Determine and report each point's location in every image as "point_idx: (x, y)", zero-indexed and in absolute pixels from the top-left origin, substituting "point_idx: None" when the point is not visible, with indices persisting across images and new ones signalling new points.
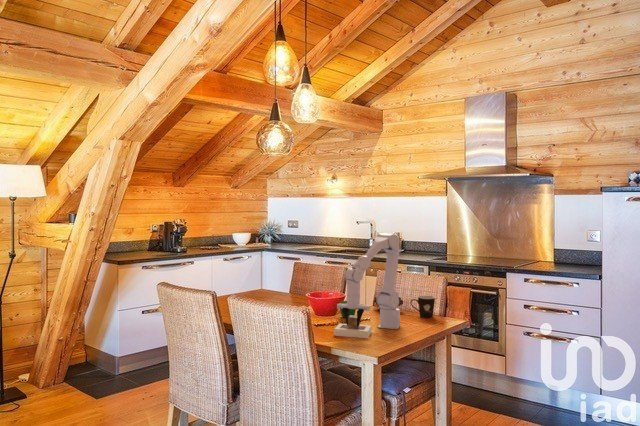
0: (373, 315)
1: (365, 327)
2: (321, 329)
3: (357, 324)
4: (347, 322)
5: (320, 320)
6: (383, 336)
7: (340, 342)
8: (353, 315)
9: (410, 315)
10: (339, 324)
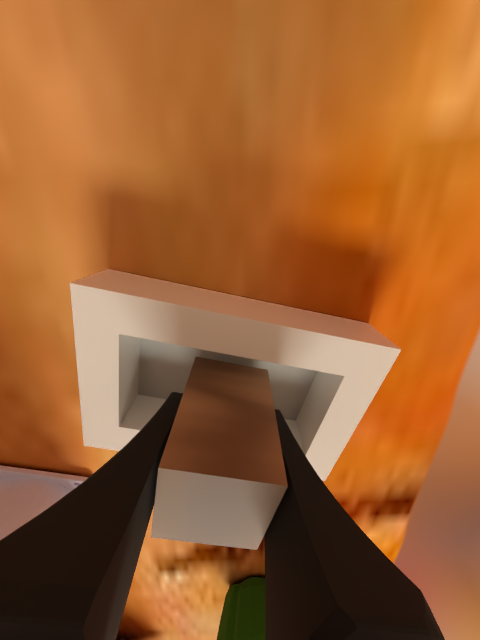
0: (150, 599)
1: (130, 421)
2: (419, 441)
3: (177, 402)
4: (281, 428)
5: (382, 552)
6: (4, 325)
7: (352, 96)
8: (214, 541)
9: None
10: (329, 459)
